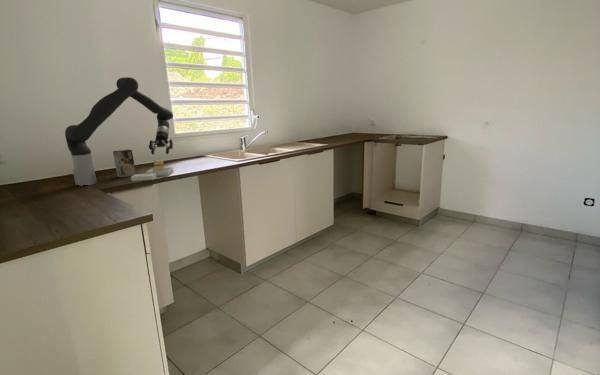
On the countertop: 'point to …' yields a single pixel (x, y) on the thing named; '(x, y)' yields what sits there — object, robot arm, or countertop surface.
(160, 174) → the tray
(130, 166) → the coffee box
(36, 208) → the countertop surface
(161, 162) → the fuse
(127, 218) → the countertop surface
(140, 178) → the fuse holder
